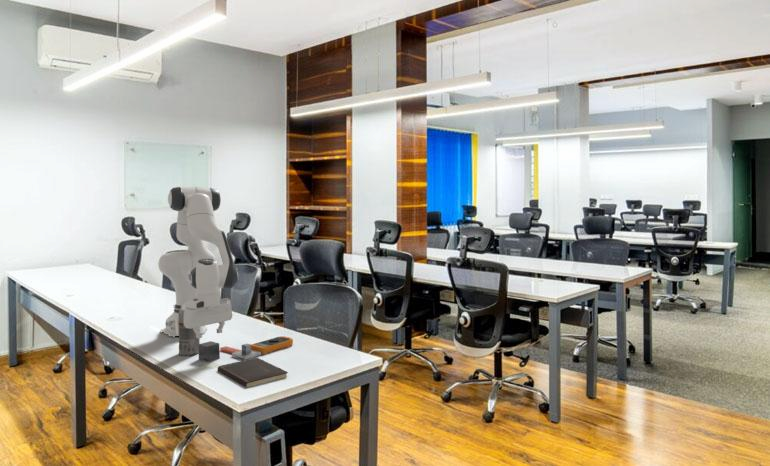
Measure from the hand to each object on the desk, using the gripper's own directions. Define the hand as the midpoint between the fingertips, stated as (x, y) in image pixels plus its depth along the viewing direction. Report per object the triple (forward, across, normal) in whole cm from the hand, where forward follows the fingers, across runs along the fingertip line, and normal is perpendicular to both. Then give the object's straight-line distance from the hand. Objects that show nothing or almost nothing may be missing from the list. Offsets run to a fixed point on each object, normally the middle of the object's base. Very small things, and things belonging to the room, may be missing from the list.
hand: (209, 335), depth 205 cm
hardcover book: (+11, +2, +27) cm, 29 cm away
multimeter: (+10, -25, +8) cm, 28 cm away
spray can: (+9, 0, -14) cm, 17 cm away
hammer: (+9, -11, +3) cm, 15 cm away
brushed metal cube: (+9, 0, -1) cm, 9 cm away
